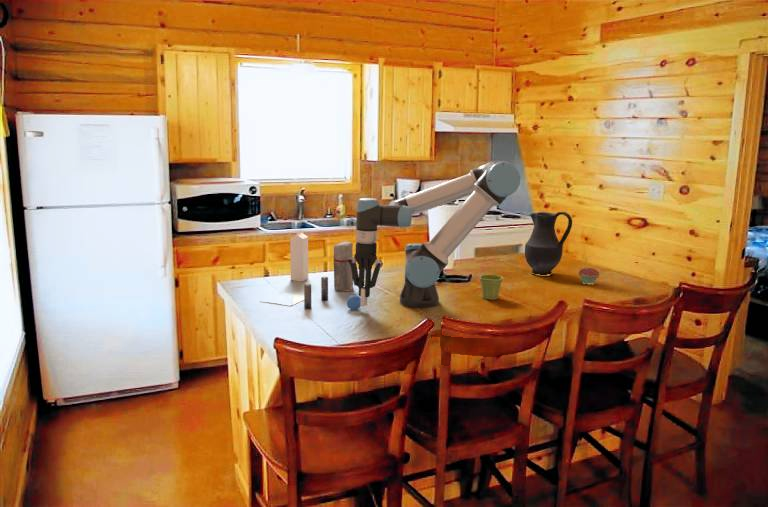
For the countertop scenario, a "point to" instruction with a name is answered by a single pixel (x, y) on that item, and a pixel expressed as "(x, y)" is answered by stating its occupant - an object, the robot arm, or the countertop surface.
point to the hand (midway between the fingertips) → (363, 305)
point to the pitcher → (545, 243)
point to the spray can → (343, 266)
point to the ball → (354, 302)
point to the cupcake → (588, 274)
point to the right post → (324, 288)
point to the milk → (299, 256)
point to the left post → (307, 296)
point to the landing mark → (297, 299)
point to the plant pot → (490, 286)
